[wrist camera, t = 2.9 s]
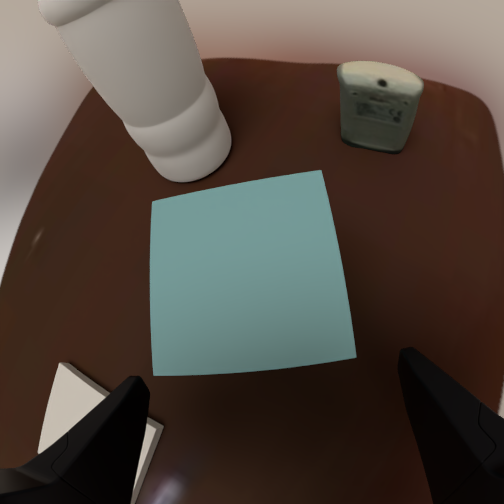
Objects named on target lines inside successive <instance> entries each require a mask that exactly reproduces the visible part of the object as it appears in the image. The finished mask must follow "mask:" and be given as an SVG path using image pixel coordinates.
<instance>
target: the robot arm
mask: <svg viewBox="0 0 504 504" xmlns="http://www.w3.org/2000/svg"><path fill="white" fill-rule="evenodd" d="M398 374H399V378H400V383H401V387H402V392H403V397H404V401H405V406H406V410H407V414H408V417H409V420H410V423H411V426H412V429H413V432H414V435H415V439H416V442H417V445H418V448H419V452H420V455H421V459H422V462H423V466H424V469H425V473H426V476H427V480H428V484H429V488H430V492H431V496H432V500H433V504H504V418H502V417H501V416H499V415H498V414H496V413H495V412H494V411H493V410H491V409H490V408H489V407H487V406H486V405H485V404H484V403H483V402H481V403H480V400H479V399H478V398H476V397H475V396H474V395H473V394H471V393H470V392H469V391H468V390H466V389H465V388H464V387H463V386H461V385H460V384H459V383H458V382H456V381H455V380H454V379H453V378H451V377H450V376H449V375H448V374H446V373H445V372H444V371H443V370H441V369H440V368H439V367H438V366H436V365H435V364H434V363H433V362H431V361H430V360H429V359H428V358H426V357H425V356H424V355H422V354H421V353H420V352H419V351H417V350H416V349H415V348H413V347H408V348H403V349H401V351H400V354H399V361H398ZM149 400H150V392H149V389H148V387H147V386H146V384H145V383H144V381H143V379H142V378H141V377H140V376H129V377H128V378H127V379H126V380H124V381H123V382H122V383H121V384H120V385H119V386H118V387H117V388H116V389H114V390H113V391H112V392H111V393H110V394H109V395H108V396H107V397H106V398H104V399H103V400H102V401H101V402H100V403H99V404H98V405H97V406H95V407H94V408H93V409H92V410H91V411H90V412H89V413H88V414H86V415H85V416H84V417H83V418H82V419H81V420H80V421H79V422H77V423H76V424H75V425H74V426H73V427H72V428H71V429H70V430H68V432H66V433H65V434H64V435H63V436H62V437H60V438H59V439H58V440H57V441H56V442H54V443H53V444H52V445H51V446H49V447H48V448H47V449H45V450H44V451H43V452H41V453H40V454H38V455H37V456H36V457H34V458H33V459H32V460H30V461H29V462H27V463H26V464H24V465H22V466H20V467H17V468H8V469H0V504H131V500H132V495H133V489H134V484H135V479H136V474H137V469H138V464H139V460H140V455H141V450H142V446H143V441H144V437H145V432H146V426H147V417H148V408H149Z"/></svg>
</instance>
